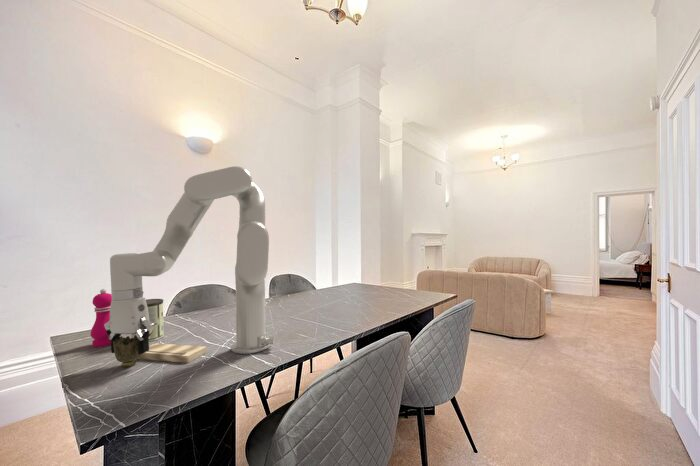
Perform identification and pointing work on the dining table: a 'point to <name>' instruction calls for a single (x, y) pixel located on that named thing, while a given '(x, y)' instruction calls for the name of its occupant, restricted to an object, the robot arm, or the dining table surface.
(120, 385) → the dining table surface
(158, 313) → the coffee can
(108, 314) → the pepper mill
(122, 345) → the cup
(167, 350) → the maple board
